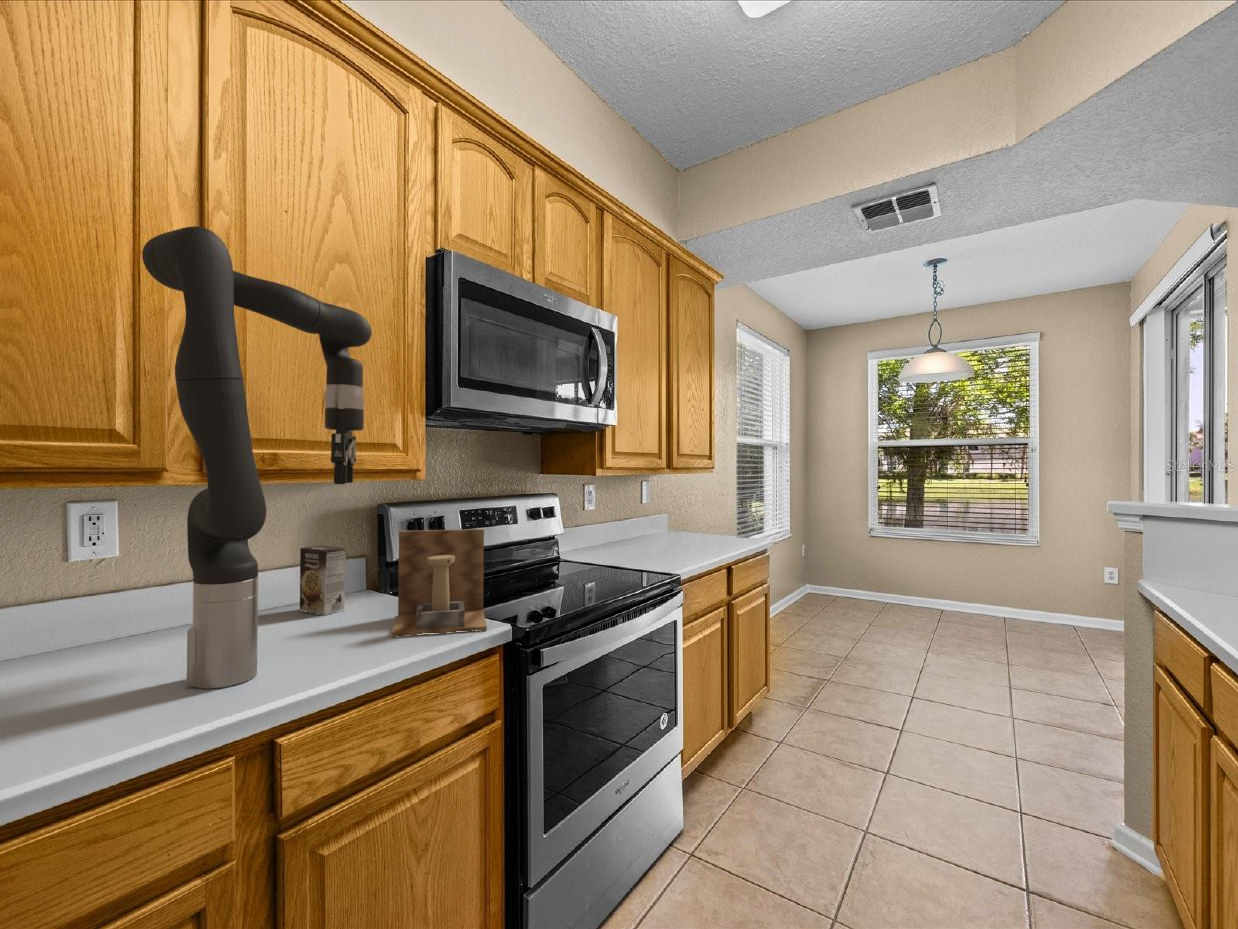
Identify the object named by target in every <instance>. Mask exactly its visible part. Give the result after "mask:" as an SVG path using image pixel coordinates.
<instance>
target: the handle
mask: <svg viewBox="0 0 1238 929" xmlns="http://www.w3.org/2000/svg"><path fill="white" fill-rule="evenodd" d="M454 561H455V556H453V555H439V556H432V557H428V558H427V564H429V565H430V566H432V567H433V588H432V611H446V610H449V604H450V597H449V596H450V592H449V572H448V571H449V566H450V565H451V564H452V563H453V562H454Z"/></svg>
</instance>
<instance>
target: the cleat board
mask: <svg viewBox="0 0 1238 929" xmlns="http://www.w3.org/2000/svg"><path fill="white" fill-rule="evenodd" d="M484 542H485V529H484V528H479V529H478V528H473V529H472V528H470V529H466V528H464V529H429V530H428V529H427V530H425V529H422V530H419V529H418V530H417V529H416V530H399V531H398V575H397V576H398V579H397V580H398V582H397V583H398V586H397V587H398V588H397V590H398V591H397V592H398V593H397V594H398V595H397V597H398V598H397V600H398V602H397V603H398V604H397V617H396V619H395V622H394V624H393V628H392V630H391V638H397V637H396V636H405V635H406V637H408V636H407V635H417V634H422V633H447V632H456V631H472V630H473V631H475V630H488V628H487V626H488V625H487V621H486V617H485V613H484V612H485V611H484V566H485V565H484V564H485V563H484V562H485V561H484V559H485V557H484V556H485V555H484V554H485V553H484V550H485V549H484V548H485V543H484ZM439 555H453V556H455V561H454V562H453V563H452V564H451V565H450V566H449V571H448V572H449V592H450V596H449V597H450V604H449V610H446V611H432V588H433V567H432V566H430V565H429V564H427V558H428V557H432V556H439Z"/></svg>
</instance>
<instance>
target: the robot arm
mask: <svg viewBox="0 0 1238 929" xmlns="http://www.w3.org/2000/svg"><path fill="white" fill-rule="evenodd" d="M141 256H142V262H143V265H144V267H145V269H146V271H147V272H148V273H149V275H151V277H152V279H154V280H156V281H157V282H158V283H160V284H161V285H163V286H164V287H167V288H169V289H171V290H175V291H179V292H182V294H183V300H184V305H185V319H184V320H185V322H184V327H183V333H182V336H181V339H180V342H179V346H178V350H177V353H176V358H175V364H174V381H175V387H176V392H177V398H178V405H179V408H180V412H181V414H182V418H183V419H184V420H183V421H184V422H185V424H186V426H187V429H188V431H189V432H190V435H191V436H192V438H193V440H194V442H195V443H196V445H197V447H198V450H199V452H200V453H201V457H202V459H203V462H204V467H205V473H206V481H207V488H204V489H203V490H201V491H199V492H198V493H197V494H195V496H194V497H193V499H192V501H191V502H190V504H189V507H188V511H187V517H186V518H187V519H186V520H187V523H186V524H187V525H186V527H187V532H186V534H187V535H186V536H187V558H188V563H189V565H190V569H191V571H192V581H193V582H192V585H193V586H192V627H189V628H188V629H187V633H186V634H187V635H186V638H187V639H186V643H187V644H186V688H198V689H220V688H225V687H231V686H235V685H239V684H242V683H245V682H247V681H249V680H252V679H253V678H255V677H256V676H257V674H258V627H259V626H258V622H259V621H258V617H259V616H258V614H259V611H258V610H259V609H258V608H259V606H258V604H259V564H258V561H257V560H256V558H255V557H254V556H253V554H252V553H251V550H250V548H249V540H250V539H252V538H254V537H255V536H257V534H258V533H259V532H260V531H261V530H262V529H263V526H264V524H265V522H266V518H267V505H266V504H267V503H266V499H265V495H264V492H263V489H262V485H261V480H260V478H259V477H260V476H259V474H258V470H257V466H256V461H255V457H254V456H255V455H254V450H253V443H252V435H251V428H250V423H249V417H248V406H247V398H246V397H247V396H246V391H245V383H244V376H243V372H242V365H241V359H240V353H239V352H240V351H239V344H238V336H237V329H236V328H237V327H236V318H235V307H238V308H242V309H245V310H247V311H251V312H253V313H256V314H259V315H262V316H263V317H264V316H265V317H266V318H270V319H272V320H274V321H278V322H279V323H282V324H285V325H287V326H289V327H291V328H294V329H297V330H299V331H301V332H303V333H307V334H313V335H318V339H319V344H320V347H321V352H322V355H323V359H324V362H325V365H326V376H325V378H326V379H325V380H326V383H325V384H326V388H325V392H324V429H326V430H328V431H329V430H330V431H335V433H334V432H333V433H332V432H331V435H330V437H331V441H330V442H331V446H330V447H331V448H330V450H331V451H330V462H331V464H332V466H333V484H334V485H346V484H351V483H353V482H354V466H355V464H356V462H357V459H356V458H357V457H356V454H357V453H356V450H357V449H356V444H357V443H356V442H357V441H356V440H357V438H356V437H357V436H355V435H354V436H353V432H355V431H356V432H359V431H362V430H364V427H365V426H364V424H365V423H364V420H365V416H364V415H365V414H364V413H365V408H364V407H365V403H364V402H365V398H364V397H365V396H364V388H363V386H364V383H363V382H364V381H363V380H364V377H363V376H364V370H363V369H364V367H363V365H362V362H361V361H360V360H358V359H355V358H351V356H350V351H349V348H357V347H362V346H364V345H366V344H367V343H368V342H369V341H370V340H371V337H372V328H371V324H370V323H369V322H368V320H367V319H366V317H364V316H363V315H361V314H360V313H358V312H356V311H355V310H352V309H348V308H346V307H342V306H339V305H334V304H332V303H331V304H330V303H326V302H323V301H321V300H319V299H317V298H316V297H313V296H311V295H309V294H308V293H305V292H303V291H301V290H298V289H297V288H294V287H291V286H290V285H289V286H288V285H286V284H282V283H278V282H275V281H271V280H267V279H263V278H259V277H255V276H251V275H247V274H245V273H241V272H238V271H236V270H234V268H233V260H232V258H231V254H230V251H229V249H228V247H227V246H226V244H225V243H224V241H223V240H222V239H221V237H219V236H218V235H217V234H216V233H215V232H213V231H212V230H210V228H206V227H203V226H198V225H196V226H194V225H193V226H186V227H182V228H178V229H175V230H171V231H167V232H164V233H163V232H162V233H160V234H158V235H155V236H154V237H151V239H149V240H148V241H147V242H146V243H145V244H144V246H143V248H142V254H141Z"/></svg>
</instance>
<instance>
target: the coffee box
mask: <svg viewBox="0 0 1238 929" xmlns="http://www.w3.org/2000/svg"><path fill="white" fill-rule="evenodd" d="M299 550H300V553H299V554H300V555H299V557H300V558H299V561H300V562H299V568H300V569H299V611H300V610H303V611H307V612H311V613H319V614H323V615H322V616H324V615H325V614H328V613H332V614H334V613H333V612H336V611H339V610H342V609H344V610H345V599H346V598H345V596H346V560H347V557H346V555H347V548H346V547H338V546H329V545H323V544H322V545H317V546H316V545H315V546H306V547H305V546H304V547H301V548H300V549H299ZM311 613H310V614H311ZM336 613H337V612H336ZM325 616H326V615H325Z"/></svg>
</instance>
